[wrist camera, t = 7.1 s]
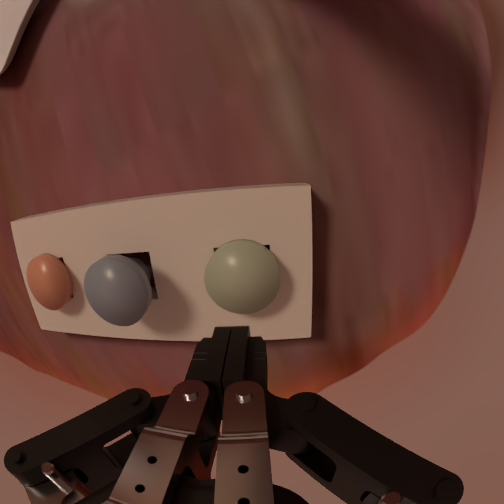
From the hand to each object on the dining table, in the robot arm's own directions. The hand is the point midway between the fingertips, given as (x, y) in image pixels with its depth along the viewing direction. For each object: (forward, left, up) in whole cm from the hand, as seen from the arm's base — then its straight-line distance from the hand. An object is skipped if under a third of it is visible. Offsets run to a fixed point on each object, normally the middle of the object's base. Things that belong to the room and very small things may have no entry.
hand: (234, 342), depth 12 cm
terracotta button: (+13, -13, -11) cm, 21 cm away
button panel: (+7, -6, -11) cm, 15 cm away
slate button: (+7, -6, -9) cm, 13 cm away
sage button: (0, 0, -11) cm, 11 cm away
